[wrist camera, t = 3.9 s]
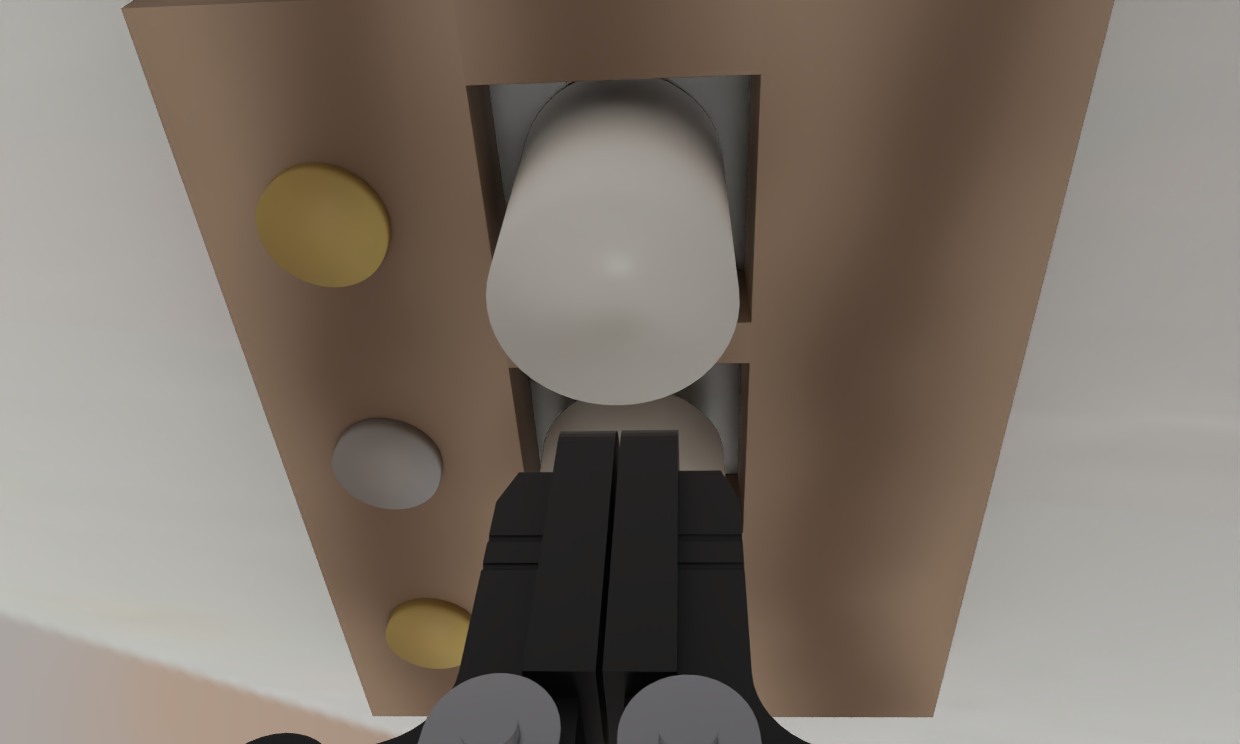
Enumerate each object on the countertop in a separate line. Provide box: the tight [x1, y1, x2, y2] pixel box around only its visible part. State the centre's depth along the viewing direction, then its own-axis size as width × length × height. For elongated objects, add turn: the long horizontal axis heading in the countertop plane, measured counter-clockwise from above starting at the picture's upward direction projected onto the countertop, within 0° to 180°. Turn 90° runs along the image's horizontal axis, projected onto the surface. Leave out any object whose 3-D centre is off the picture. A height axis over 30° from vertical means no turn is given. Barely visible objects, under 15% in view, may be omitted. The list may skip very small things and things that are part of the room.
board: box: [121, 0, 1114, 717], centre depth 22 cm, size 16×20×2 cm
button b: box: [540, 395, 725, 476], centre depth 19 cm, size 4×4×5 cm
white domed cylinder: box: [486, 78, 740, 405], centre depth 17 cm, size 4×4×5 cm
